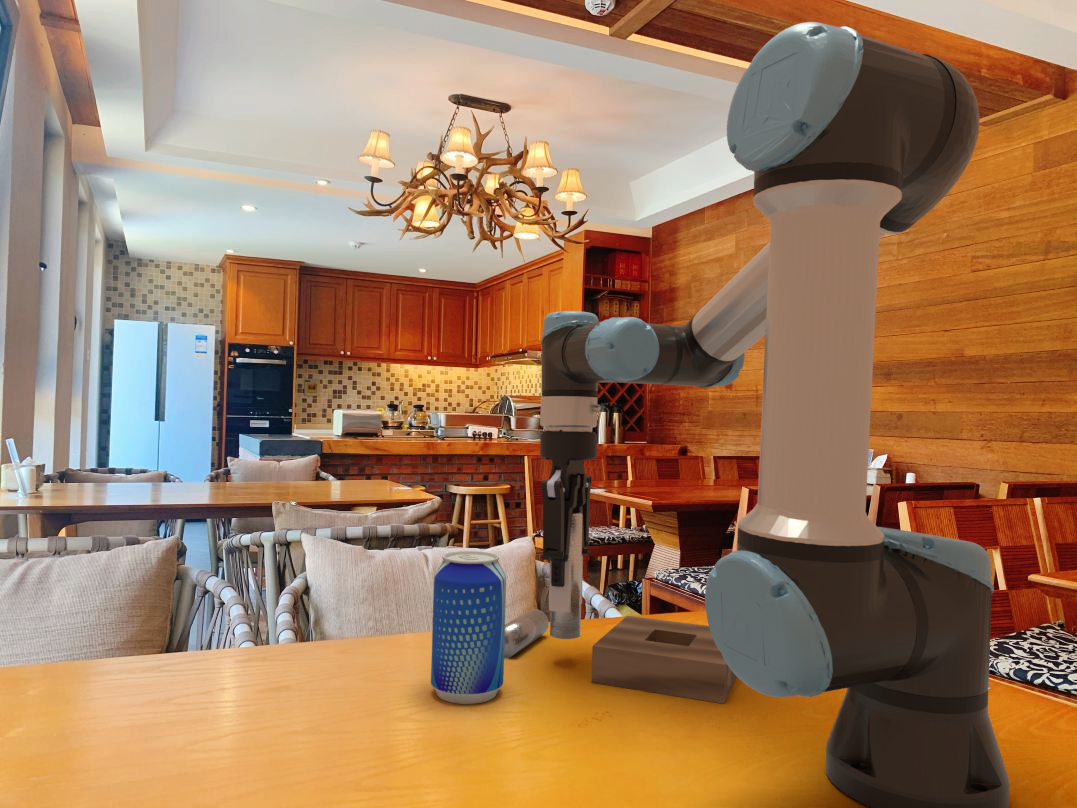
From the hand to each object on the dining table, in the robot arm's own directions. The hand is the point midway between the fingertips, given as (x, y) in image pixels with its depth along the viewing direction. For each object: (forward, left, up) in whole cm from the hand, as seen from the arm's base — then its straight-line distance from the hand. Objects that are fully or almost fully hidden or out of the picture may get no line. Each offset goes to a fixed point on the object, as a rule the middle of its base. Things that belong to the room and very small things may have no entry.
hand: (565, 606), depth 105 cm
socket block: (+2, -14, -7) cm, 16 cm away
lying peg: (+4, +10, -5) cm, 12 cm away
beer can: (-16, +6, -8) cm, 19 cm away
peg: (0, 0, -4) cm, 4 cm away
